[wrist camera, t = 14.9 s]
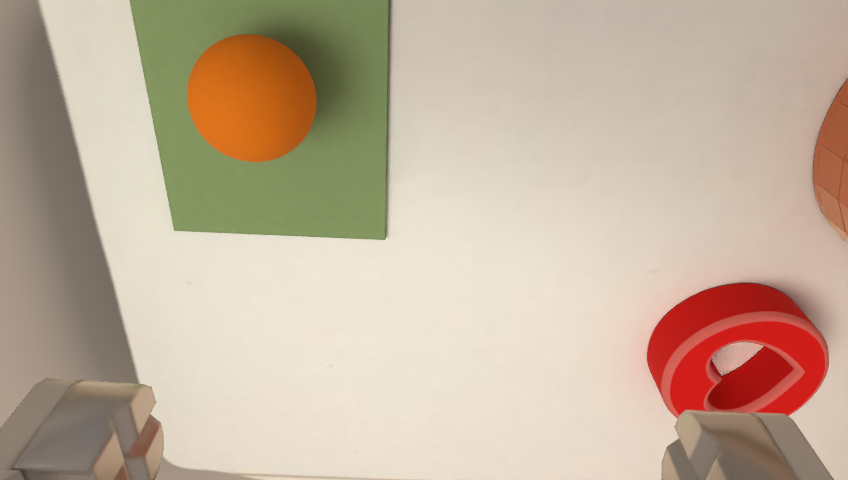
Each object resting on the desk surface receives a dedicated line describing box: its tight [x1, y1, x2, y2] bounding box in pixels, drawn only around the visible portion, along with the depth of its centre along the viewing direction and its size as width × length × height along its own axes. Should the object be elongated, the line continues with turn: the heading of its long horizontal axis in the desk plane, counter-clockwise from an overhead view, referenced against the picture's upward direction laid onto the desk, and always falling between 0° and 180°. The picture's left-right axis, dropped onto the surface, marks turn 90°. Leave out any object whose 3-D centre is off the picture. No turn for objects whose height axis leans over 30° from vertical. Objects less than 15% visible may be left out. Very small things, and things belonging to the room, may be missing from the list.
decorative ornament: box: [647, 283, 829, 418], centre depth 37 cm, size 10×10×3 cm
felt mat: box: [130, 0, 389, 240], centre depth 30 cm, size 18×12×1 cm, turn 177°
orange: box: [187, 34, 317, 162], centre depth 27 cm, size 6×6×6 cm
